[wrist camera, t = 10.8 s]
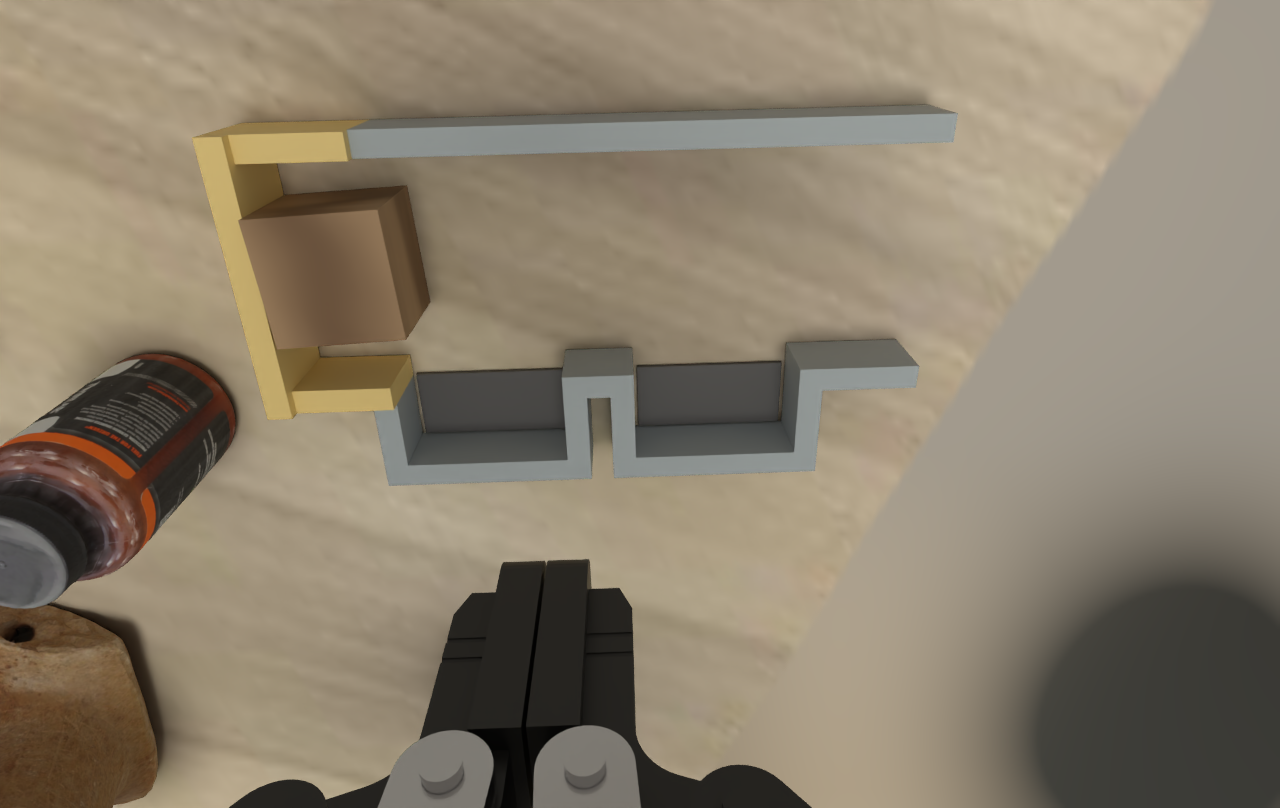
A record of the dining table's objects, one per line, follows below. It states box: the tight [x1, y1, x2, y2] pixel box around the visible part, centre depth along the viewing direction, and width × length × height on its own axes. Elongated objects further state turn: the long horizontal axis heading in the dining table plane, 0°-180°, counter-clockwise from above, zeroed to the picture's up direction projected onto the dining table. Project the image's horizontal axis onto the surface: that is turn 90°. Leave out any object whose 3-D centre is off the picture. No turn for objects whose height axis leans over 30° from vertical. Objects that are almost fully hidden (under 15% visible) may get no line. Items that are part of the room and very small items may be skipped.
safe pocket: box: [192, 120, 413, 420], centre depth 31 cm, size 5×11×4 cm, turn 1°
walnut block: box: [238, 185, 430, 350], centre depth 31 cm, size 5×5×4 cm
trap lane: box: [347, 105, 958, 486], centre depth 33 cm, size 23×15×3 cm, turn 91°
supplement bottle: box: [0, 354, 236, 609], centre depth 31 cm, size 6×6×11 cm
